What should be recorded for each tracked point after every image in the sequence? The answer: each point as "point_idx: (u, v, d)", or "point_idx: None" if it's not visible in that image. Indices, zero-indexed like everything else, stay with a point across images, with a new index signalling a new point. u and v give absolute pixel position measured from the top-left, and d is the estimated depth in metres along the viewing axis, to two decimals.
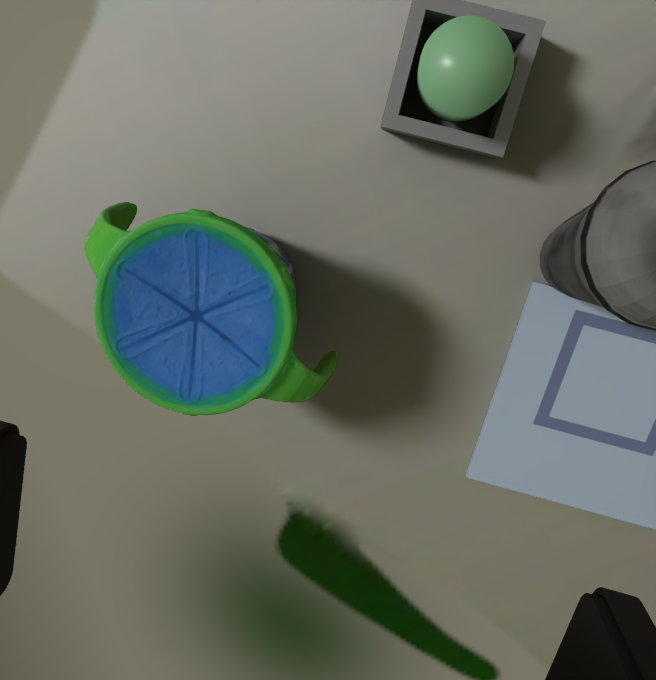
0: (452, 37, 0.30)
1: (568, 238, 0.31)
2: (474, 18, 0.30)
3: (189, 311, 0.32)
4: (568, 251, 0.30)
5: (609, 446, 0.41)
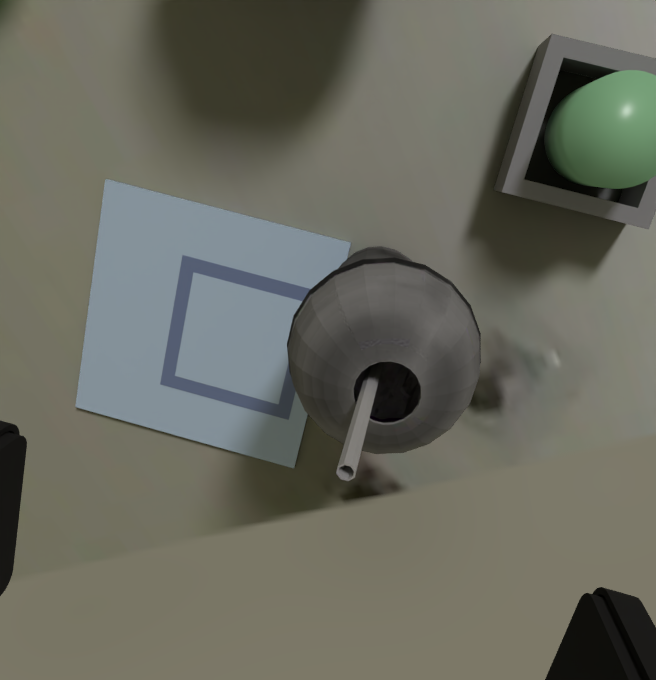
0: None
1: None
2: None
3: None
4: None
5: (165, 340, 0.37)
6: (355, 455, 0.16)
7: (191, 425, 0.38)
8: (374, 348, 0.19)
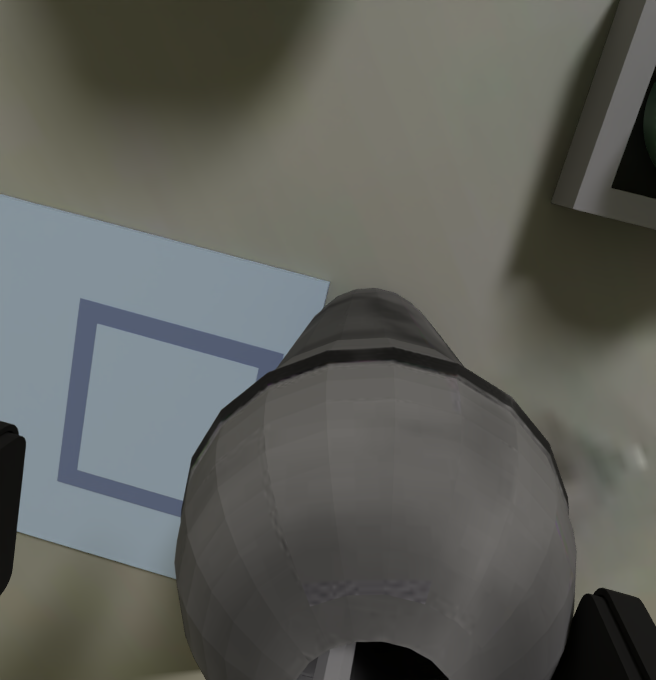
0: None
1: (398, 327, 0.15)
2: None
3: None
4: (370, 327, 0.15)
5: (61, 419, 0.25)
6: None
7: (103, 539, 0.26)
8: (341, 605, 0.08)
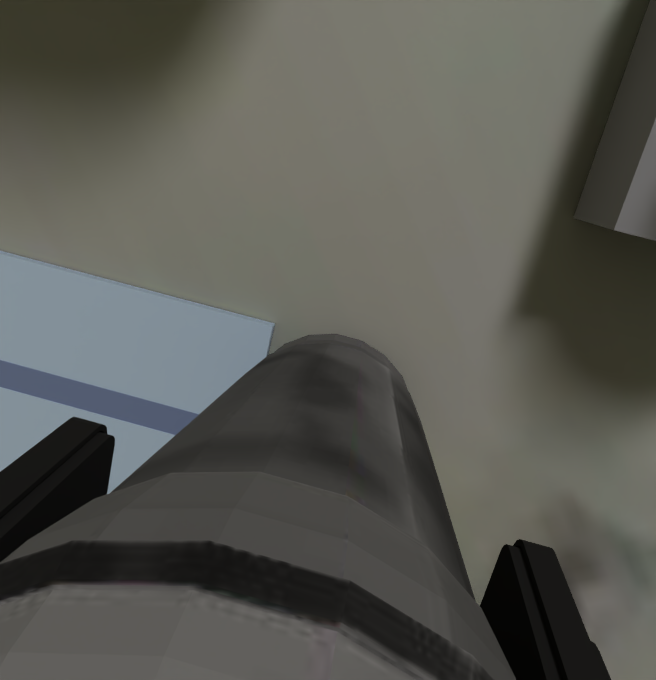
0: None
1: (316, 425, 0.09)
2: None
3: None
4: (264, 428, 0.09)
5: None
6: None
7: None
8: None
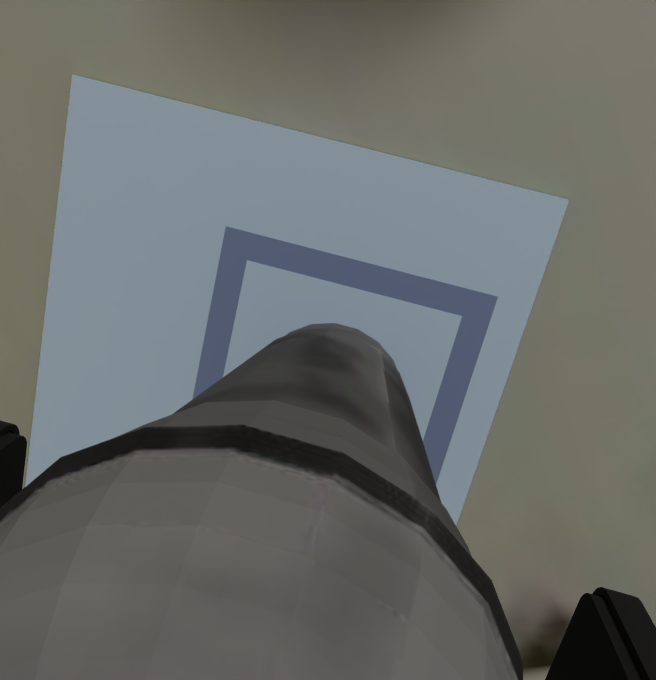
0: None
1: (318, 380, 0.11)
2: None
3: None
4: (276, 380, 0.11)
5: (190, 389, 0.19)
6: None
7: None
8: None
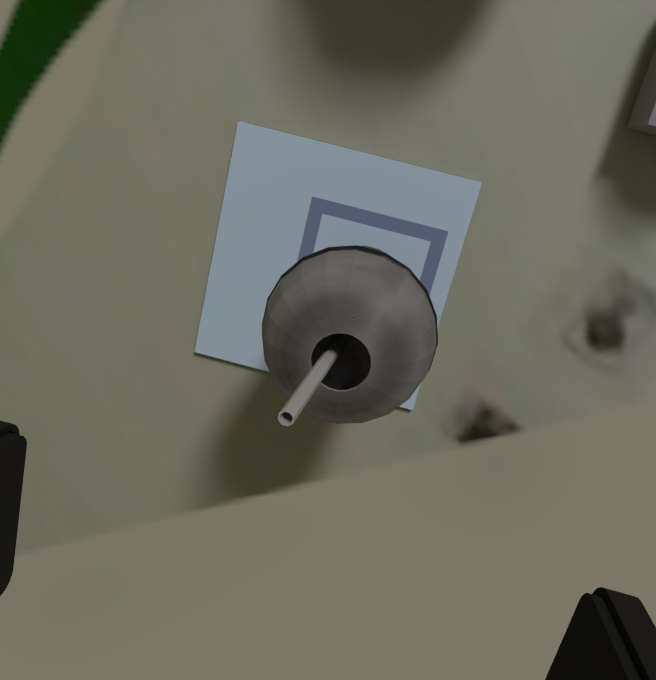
0: None
1: None
2: None
3: None
4: None
5: None
6: (296, 405, 0.18)
7: None
8: (329, 321, 0.22)
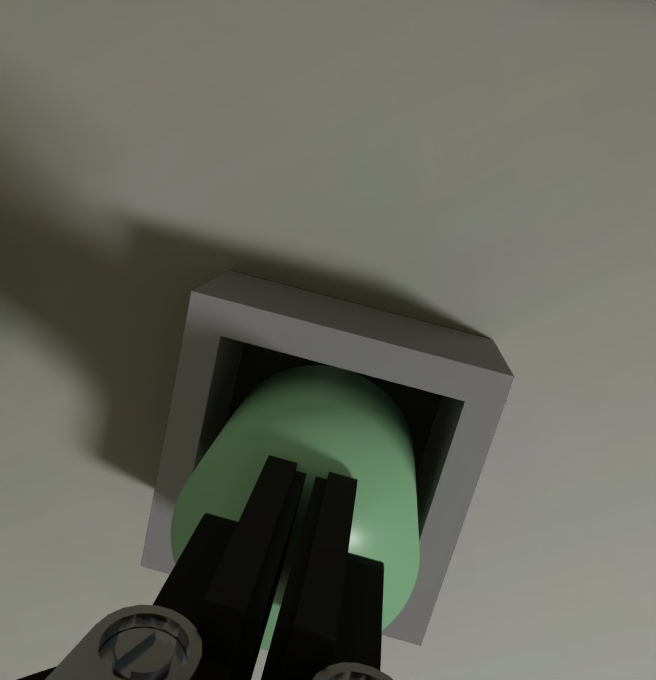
0: None
1: None
2: None
3: None
4: None
5: None
6: None
7: None
8: None
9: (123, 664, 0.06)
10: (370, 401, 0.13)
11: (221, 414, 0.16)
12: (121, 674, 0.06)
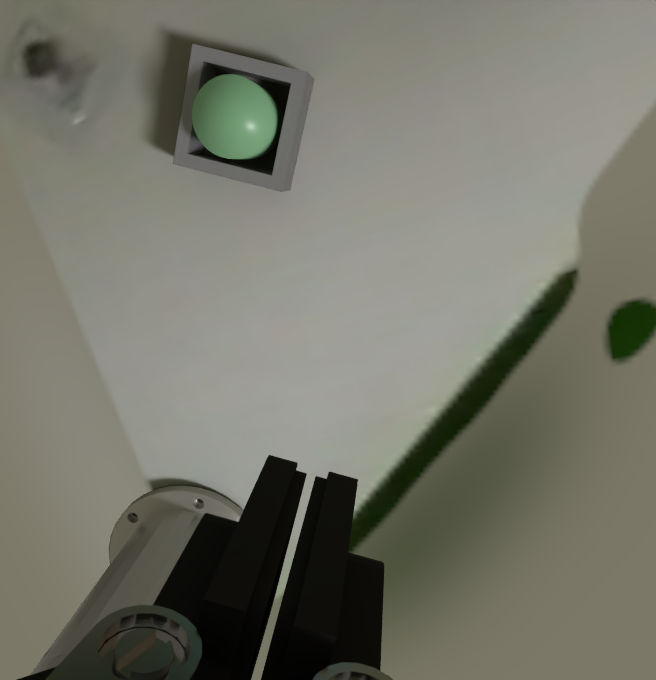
0: (244, 141, 0.36)
1: None
2: (228, 156, 0.37)
3: None
4: None
5: None
6: None
7: None
8: None
9: (123, 664, 0.06)
10: None
11: None
12: (121, 674, 0.06)
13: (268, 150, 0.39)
